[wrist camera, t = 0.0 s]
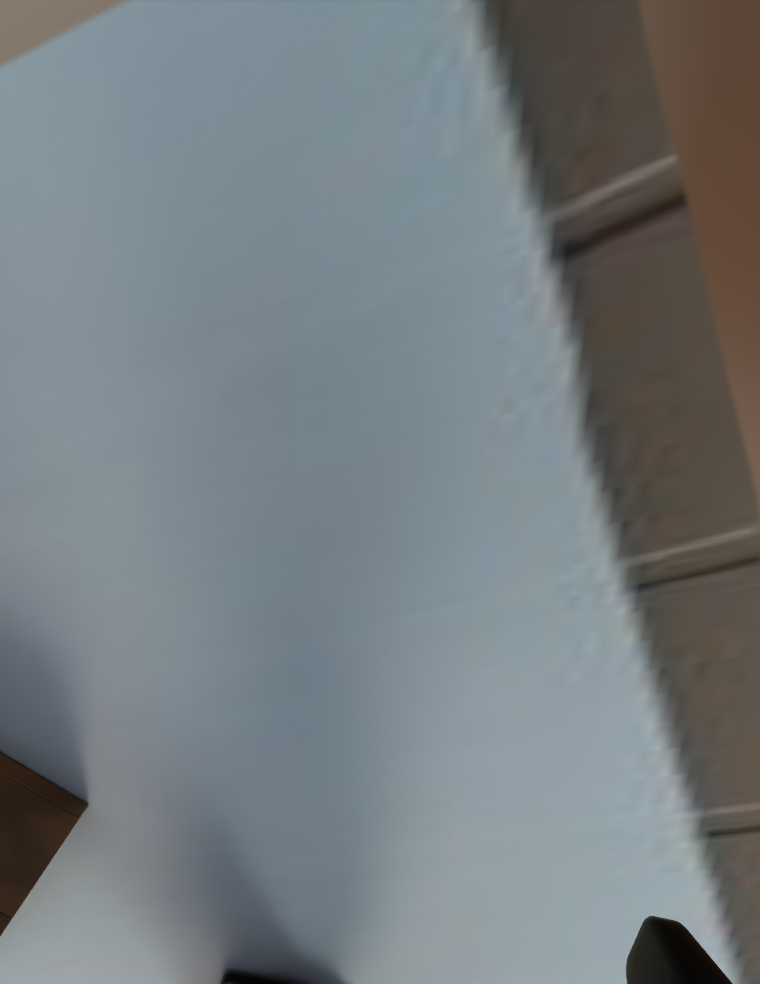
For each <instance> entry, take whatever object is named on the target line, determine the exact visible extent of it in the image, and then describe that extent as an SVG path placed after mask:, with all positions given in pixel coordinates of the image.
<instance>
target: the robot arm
mask: <svg viewBox="0 0 760 984" xmlns="http://www.w3.org/2000/svg"><path fill="white" fill-rule="evenodd" d="M626 977H627V984H732V983H731V981H730V980H729V979H728V978H727V977H726V975H725V974H724V973H723V972H722V971H721V969H720V968H719V967H718V966H717V965H716V963H715V962H714V961H713V960H712V959H711V957H710V956H709V955H708V954H707V953H706V951H705V950H704V949H703V948H702V947H701V946H700V944H699V943H698V942H697V941H696V940H695V938H694V937H693V936H692V935H691V934H690V932H689V931H688V930H687V929H686V928H685V927H684V926H683V925H682V924H681V923H679V922H677V921H674V920H670V919H665V918H660V917H655V916H649V917H648V918H646V919H645V920H644V922H643V924H642V926H641V928H640V930H639V933H638V935H637V937H636V939H635V942H634V944H633V946H632V949H631V951H630V953H629V955H628V959H627V964H626ZM221 984H280V983H275V982H270V981H265V980H261V979H256V978H251V977H246V976H241V975H237V974H225V975H224V976H223V978H222V981H221Z"/></svg>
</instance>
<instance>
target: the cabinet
mask: <svg viewBox="0 0 760 984" xmlns="http://www.w3.org/2000/svg"><path fill="white" fill-rule="evenodd" d="M87 806H88V804H87V803H85V802H83V801H82V800H80V799H78V798H76V797H75V796H73V795H71V794H70V793H68V792H66V791H65V790H63V789H61V788H59V787H58V786H56V785H54V784H53V783H51V782H49V781H47V780H46V779H44V778H42V777H41V776H39V775H37V774H36V773H34V772H32V771H30V770H29V769H27V768H25V767H24V766H22V765H20V764H18V763H17V762H15V761H13V760H12V759H10V758H8V757H7V756H5V755H3V754H1V753H0V936H1V934H2V933H3V931H4V930H5V928H6V927H7V925H8V924H9V923H10V921H11V919H12V918H13V917H14V915H15V914H16V912H17V911H18V909H19V908H20V906H21V905H22V903H23V902H24V900H25V899H26V897H27V896H28V894H29V893H30V891H31V890H32V888H33V887H34V885H35V884H36V882H37V881H38V879H39V878H40V876H41V875H42V873H43V872H44V870H45V869H46V867H47V866H48V864H49V863H50V861H51V860H52V858H53V857H54V855H55V854H56V852H57V851H58V849H59V848H60V846H61V845H62V844H63V842H64V841H65V839H66V838H67V836H68V835H69V833H70V832H71V830H72V829H73V827H74V826H75V824H76V823H77V821H78V820H79V818H80V817H81V815H82V814H83V812H84V811H85V809H86V808H87Z"/></svg>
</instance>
